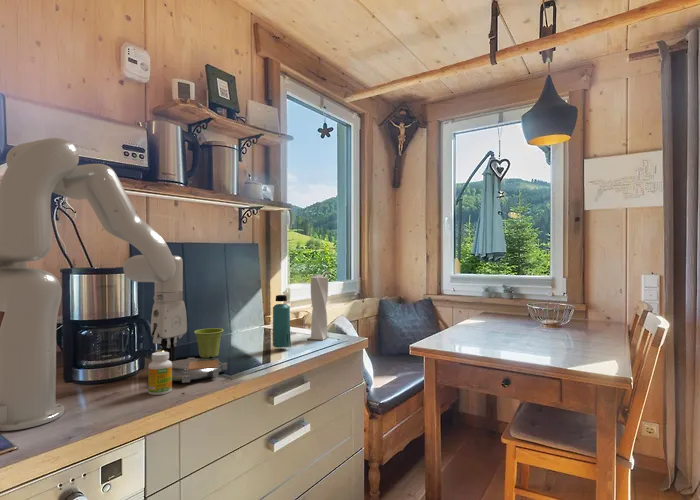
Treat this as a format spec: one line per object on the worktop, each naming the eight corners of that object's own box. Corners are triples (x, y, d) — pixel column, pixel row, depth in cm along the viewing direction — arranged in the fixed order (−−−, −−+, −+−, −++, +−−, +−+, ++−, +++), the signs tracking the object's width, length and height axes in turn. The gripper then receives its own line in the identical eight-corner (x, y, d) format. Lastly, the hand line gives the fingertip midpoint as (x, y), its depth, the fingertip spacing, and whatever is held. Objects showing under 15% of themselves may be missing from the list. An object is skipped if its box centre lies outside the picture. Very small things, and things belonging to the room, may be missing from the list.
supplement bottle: (156, 396, 99) (156, 356, 99) (143, 393, 102) (144, 354, 102) (176, 390, 104) (176, 352, 104) (163, 387, 106) (163, 349, 107)
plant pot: (214, 360, 134) (214, 333, 134) (188, 358, 136) (188, 332, 136) (228, 353, 143) (228, 328, 143) (204, 352, 145) (204, 327, 145)
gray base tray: (227, 378, 110) (227, 354, 110) (141, 386, 104) (142, 360, 104) (226, 359, 130) (226, 339, 130) (154, 365, 124) (154, 343, 124)
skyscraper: (331, 337, 171) (332, 271, 172) (326, 341, 163) (326, 271, 164) (312, 336, 173) (313, 270, 174) (306, 340, 165) (306, 271, 166)
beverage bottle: (288, 351, 145) (289, 295, 146) (270, 351, 146) (270, 295, 146) (291, 347, 152) (291, 294, 152) (274, 347, 152) (274, 294, 152)
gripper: (159, 300, 111) (159, 368, 111) (196, 295, 125) (196, 355, 125) (138, 300, 113) (137, 366, 113) (176, 295, 127) (176, 353, 127)
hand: (168, 360), depth 119 cm, fingers closed
